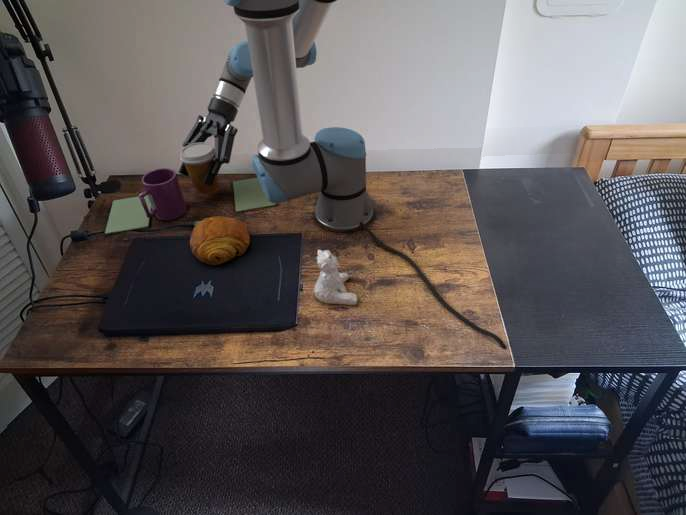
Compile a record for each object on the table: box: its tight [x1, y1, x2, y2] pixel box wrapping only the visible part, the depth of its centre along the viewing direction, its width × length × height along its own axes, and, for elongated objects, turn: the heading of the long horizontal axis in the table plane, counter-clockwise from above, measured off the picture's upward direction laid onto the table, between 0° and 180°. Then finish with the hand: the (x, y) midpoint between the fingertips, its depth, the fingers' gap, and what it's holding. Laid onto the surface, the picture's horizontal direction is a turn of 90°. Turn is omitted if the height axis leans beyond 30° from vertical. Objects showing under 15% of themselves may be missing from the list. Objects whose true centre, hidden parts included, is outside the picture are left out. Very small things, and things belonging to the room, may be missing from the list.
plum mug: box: [138, 167, 188, 221], centre depth 122 cm, size 12×9×11 cm
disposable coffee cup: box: [179, 142, 220, 195], centre depth 126 cm, size 10×10×12 cm
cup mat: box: [232, 177, 277, 213], centre depth 131 cm, size 16×11×1 cm
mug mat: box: [104, 196, 152, 235], centre depth 126 cm, size 16×11×1 cm
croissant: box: [189, 215, 251, 266], centre depth 111 cm, size 14×16×8 cm
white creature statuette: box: [313, 249, 358, 306], centre depth 95 cm, size 10×9×12 cm
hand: (194, 179), depth 125 cm, fingers closed on disposable coffee cup, 9 cm apart
